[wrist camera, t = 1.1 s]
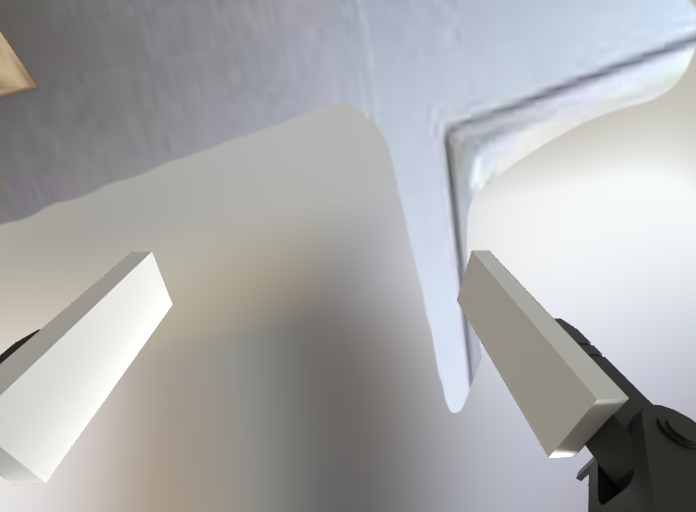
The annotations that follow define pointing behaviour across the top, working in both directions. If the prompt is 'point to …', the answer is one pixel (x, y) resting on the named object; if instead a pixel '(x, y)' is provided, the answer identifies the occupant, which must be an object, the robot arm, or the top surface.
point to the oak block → (12, 71)
